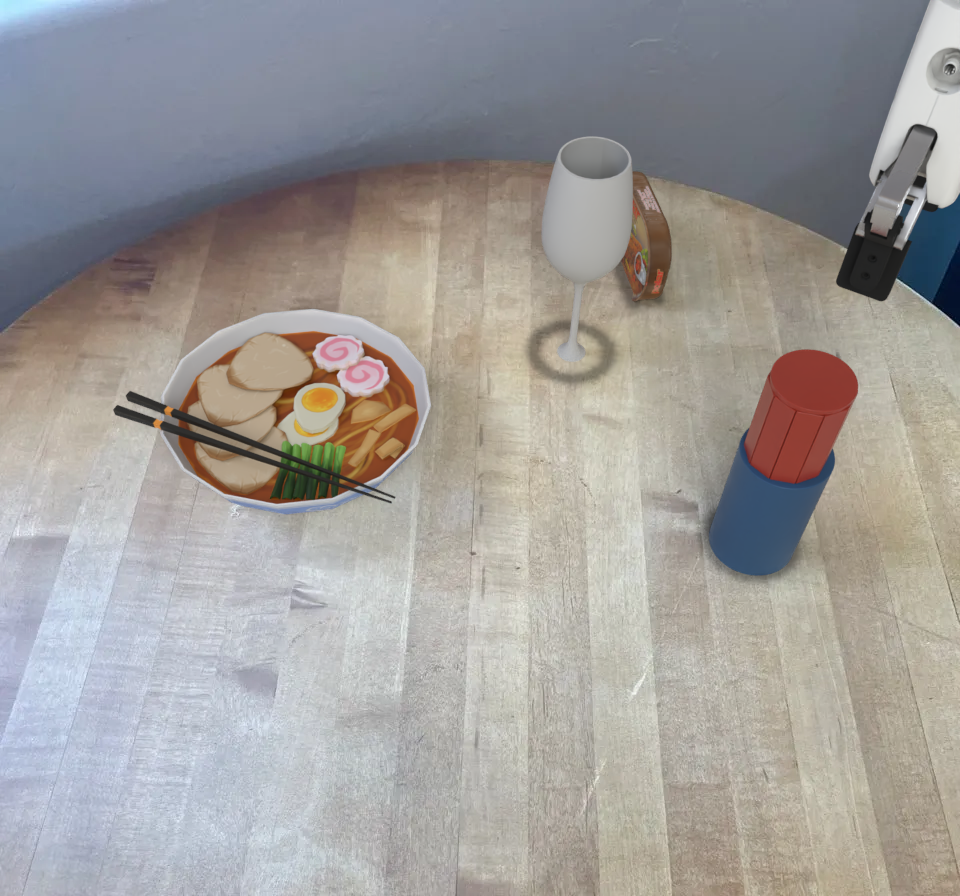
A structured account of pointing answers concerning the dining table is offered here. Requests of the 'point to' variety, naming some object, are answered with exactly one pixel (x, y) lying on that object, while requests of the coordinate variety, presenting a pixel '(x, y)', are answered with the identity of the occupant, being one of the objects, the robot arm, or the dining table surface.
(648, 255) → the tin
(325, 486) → the ramen bowl
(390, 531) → the dining table surface
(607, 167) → the wineglass
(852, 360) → the dining table surface
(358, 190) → the dining table surface
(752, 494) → the water bottle
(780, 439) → the red grooved cylinder
